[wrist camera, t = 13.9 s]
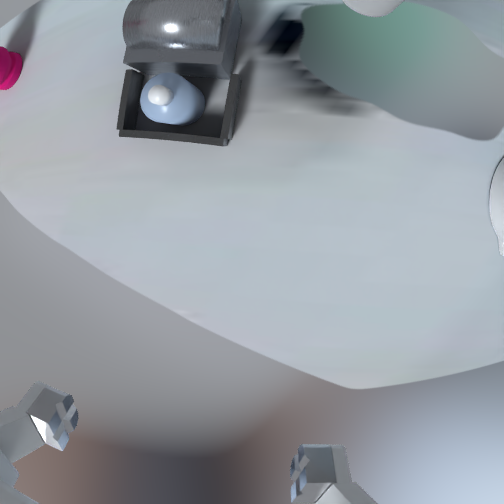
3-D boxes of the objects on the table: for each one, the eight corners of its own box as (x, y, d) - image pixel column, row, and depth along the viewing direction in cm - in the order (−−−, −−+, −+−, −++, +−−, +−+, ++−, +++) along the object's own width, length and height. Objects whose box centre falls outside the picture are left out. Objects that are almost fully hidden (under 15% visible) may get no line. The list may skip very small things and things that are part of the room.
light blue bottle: (208, 86, 31) (189, 68, 22) (201, 127, 33) (180, 123, 24) (166, 83, 31) (136, 68, 22) (160, 123, 33) (128, 120, 24)
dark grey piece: (253, 21, 28) (248, -18, 18) (230, 146, 33) (216, 147, 24) (151, 18, 28) (117, -13, 18) (128, 136, 33) (84, 137, 24)
